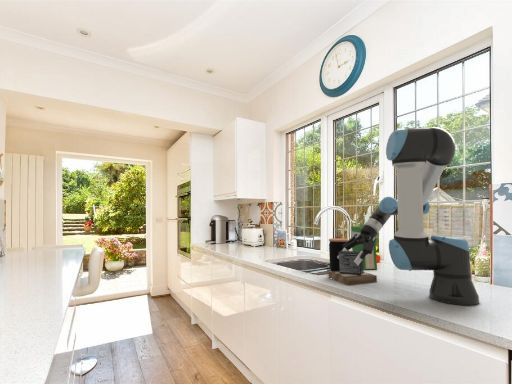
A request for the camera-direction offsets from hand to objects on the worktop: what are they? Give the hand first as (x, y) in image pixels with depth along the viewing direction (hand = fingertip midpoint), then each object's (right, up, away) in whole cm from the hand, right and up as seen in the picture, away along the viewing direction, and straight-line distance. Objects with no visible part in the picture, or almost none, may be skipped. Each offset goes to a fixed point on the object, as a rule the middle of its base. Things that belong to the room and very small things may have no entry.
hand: (347, 261), depth 136 cm
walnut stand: (+2, -9, 0) cm, 9 cm away
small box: (+2, -6, 0) cm, 7 cm away
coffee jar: (+2, -11, +20) cm, 23 cm away
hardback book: (+20, -11, +30) cm, 38 cm away
